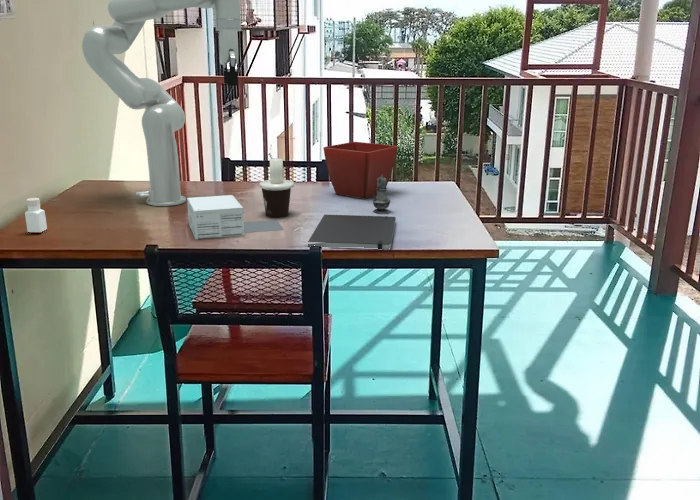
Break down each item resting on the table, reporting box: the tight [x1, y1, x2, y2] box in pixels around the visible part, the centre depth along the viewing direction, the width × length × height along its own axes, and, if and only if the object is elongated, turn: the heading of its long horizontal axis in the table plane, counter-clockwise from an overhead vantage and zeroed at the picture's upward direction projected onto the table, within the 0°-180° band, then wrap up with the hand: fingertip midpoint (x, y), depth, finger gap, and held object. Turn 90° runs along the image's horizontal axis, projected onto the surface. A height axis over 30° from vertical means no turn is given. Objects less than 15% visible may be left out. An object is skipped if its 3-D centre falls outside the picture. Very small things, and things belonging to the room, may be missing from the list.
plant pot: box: [322, 141, 398, 199], centre depth 225 cm, size 19×19×17 cm
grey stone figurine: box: [371, 175, 391, 215], centre depth 202 cm, size 6×6×12 cm
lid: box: [259, 157, 295, 190], centre depth 191 cm, size 10×10×8 cm
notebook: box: [307, 214, 397, 249], centre depth 180 cm, size 22×2×28 cm
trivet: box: [244, 219, 285, 234], centre depth 182 cm, size 11×11×2 cm
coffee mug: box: [261, 188, 292, 219], centre depth 194 cm, size 12×9×10 cm
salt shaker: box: [24, 197, 48, 233], centre depth 178 cm, size 4×4×10 cm
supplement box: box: [186, 194, 245, 240], centre depth 177 cm, size 17×13×9 cm
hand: (231, 84), depth 199 cm, fingers open, 9 cm apart
